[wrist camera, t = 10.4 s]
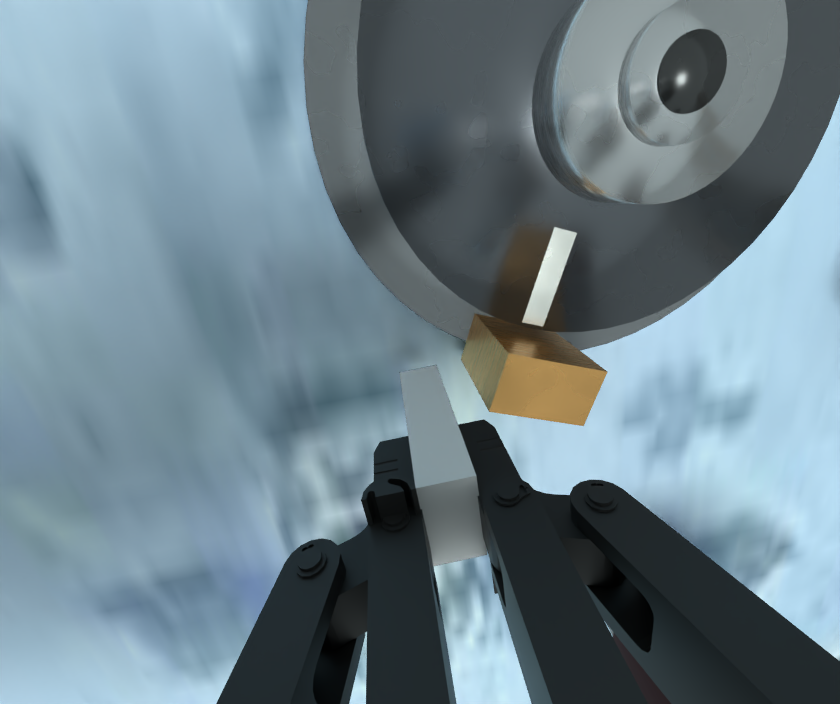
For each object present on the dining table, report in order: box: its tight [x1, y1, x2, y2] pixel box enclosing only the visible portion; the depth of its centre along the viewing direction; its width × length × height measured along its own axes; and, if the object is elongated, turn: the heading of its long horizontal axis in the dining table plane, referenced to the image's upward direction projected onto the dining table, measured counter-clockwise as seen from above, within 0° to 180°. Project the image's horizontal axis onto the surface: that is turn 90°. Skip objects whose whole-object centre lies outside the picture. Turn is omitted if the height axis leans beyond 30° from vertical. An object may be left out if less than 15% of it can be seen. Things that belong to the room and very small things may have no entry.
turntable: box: [357, 0, 840, 426], centre depth 14 cm, size 18×21×5 cm
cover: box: [532, 0, 788, 204], centre depth 12 cm, size 7×7×3 cm
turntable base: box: [304, 0, 721, 350], centre depth 16 cm, size 22×22×1 cm
